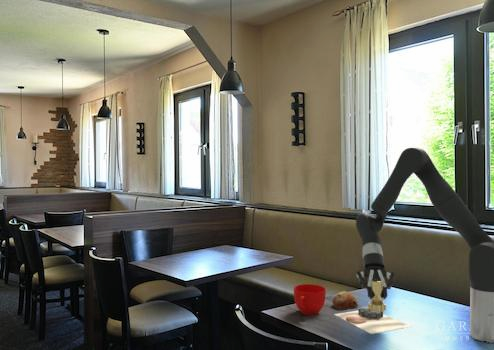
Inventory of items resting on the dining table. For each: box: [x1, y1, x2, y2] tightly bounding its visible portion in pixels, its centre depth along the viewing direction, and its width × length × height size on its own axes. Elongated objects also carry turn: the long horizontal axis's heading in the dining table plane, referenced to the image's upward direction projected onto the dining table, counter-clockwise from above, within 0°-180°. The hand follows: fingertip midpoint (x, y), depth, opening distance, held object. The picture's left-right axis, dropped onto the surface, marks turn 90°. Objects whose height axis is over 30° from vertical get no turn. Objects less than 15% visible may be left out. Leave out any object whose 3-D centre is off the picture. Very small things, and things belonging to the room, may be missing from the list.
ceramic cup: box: [293, 283, 327, 316], centre depth 176 cm, size 13×17×10 cm
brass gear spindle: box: [367, 280, 387, 313], centre depth 157 cm, size 6×6×10 cm
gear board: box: [333, 305, 412, 335], centre depth 165 cm, size 22×18×5 cm
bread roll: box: [332, 290, 359, 310], centre depth 187 cm, size 10×10×8 cm
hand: (378, 298), depth 156 cm, fingers closed on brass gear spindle, 4 cm apart
